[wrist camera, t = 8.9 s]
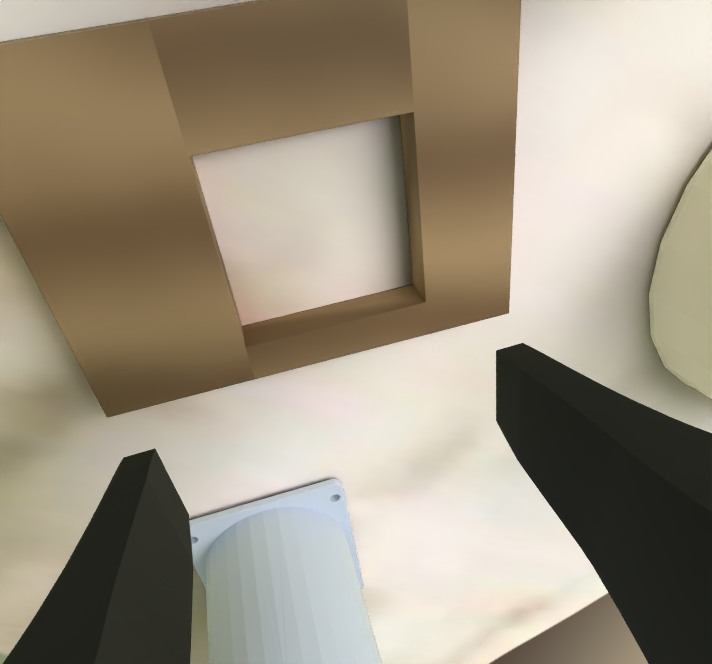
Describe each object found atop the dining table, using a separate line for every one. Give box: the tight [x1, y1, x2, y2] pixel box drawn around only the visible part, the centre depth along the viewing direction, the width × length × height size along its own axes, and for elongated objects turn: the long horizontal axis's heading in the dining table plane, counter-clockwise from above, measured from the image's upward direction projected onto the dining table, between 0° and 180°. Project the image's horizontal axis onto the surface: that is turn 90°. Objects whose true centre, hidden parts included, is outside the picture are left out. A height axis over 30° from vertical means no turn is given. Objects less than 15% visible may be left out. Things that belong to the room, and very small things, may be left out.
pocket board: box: [0, 0, 521, 417], centre depth 18 cm, size 12×16×2 cm
